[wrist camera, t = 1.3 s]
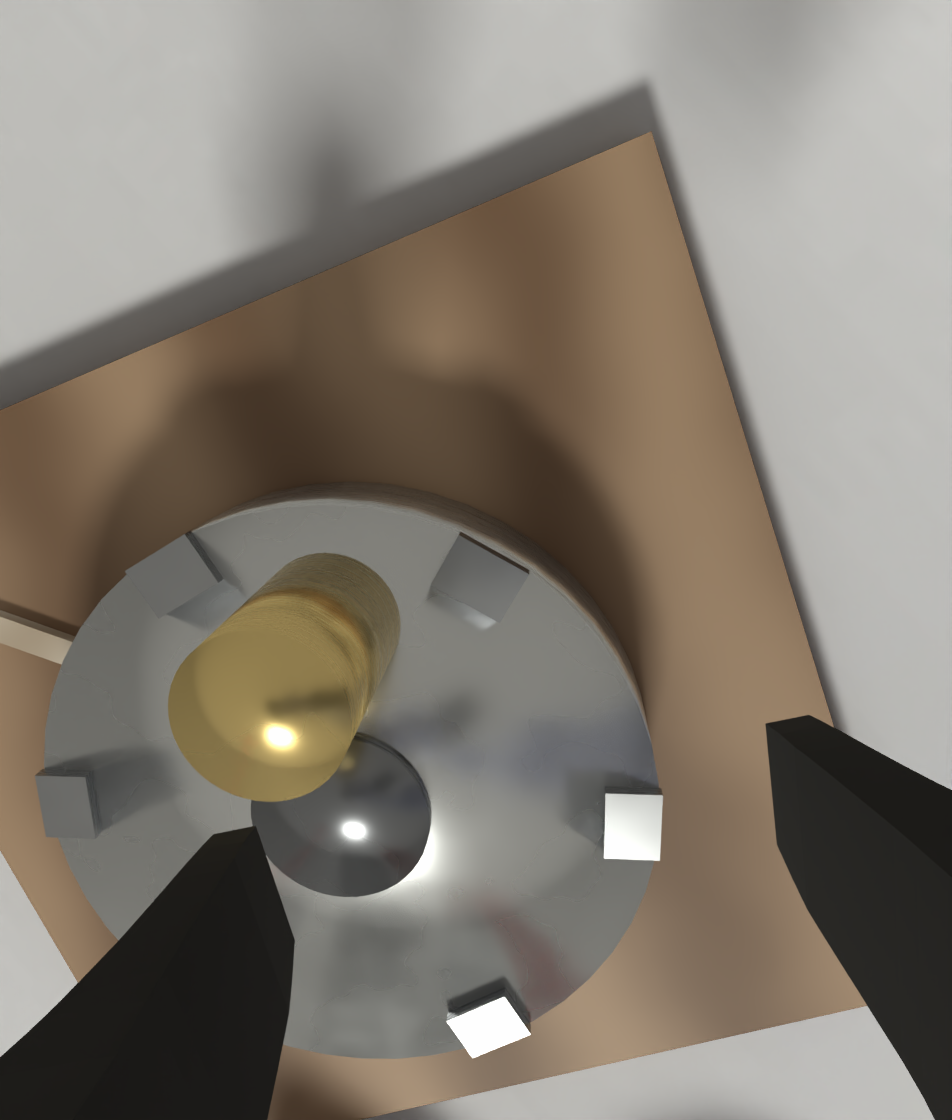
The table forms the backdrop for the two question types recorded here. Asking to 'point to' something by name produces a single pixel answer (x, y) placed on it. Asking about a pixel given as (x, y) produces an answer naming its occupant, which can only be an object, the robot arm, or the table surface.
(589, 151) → the table surface
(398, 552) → the round metal turntable
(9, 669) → the base plate
